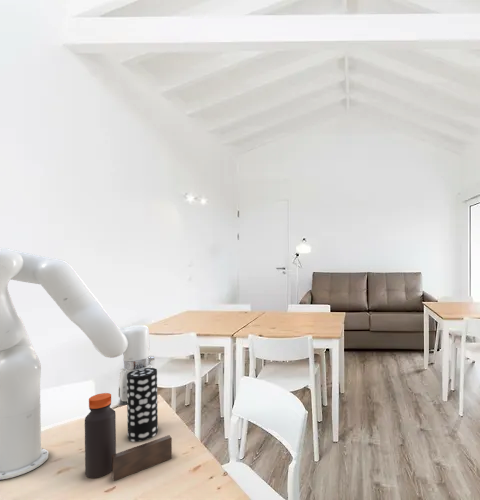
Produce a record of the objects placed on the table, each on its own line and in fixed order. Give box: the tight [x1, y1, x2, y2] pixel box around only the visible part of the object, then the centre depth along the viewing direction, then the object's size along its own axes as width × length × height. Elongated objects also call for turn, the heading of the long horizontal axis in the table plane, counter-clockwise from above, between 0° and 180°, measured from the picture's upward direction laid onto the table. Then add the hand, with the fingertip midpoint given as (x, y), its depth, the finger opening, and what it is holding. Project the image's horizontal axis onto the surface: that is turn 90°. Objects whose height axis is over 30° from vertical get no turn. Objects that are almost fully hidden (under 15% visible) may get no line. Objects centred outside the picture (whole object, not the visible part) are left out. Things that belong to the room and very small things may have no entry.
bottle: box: [84, 392, 117, 479], centre depth 95 cm, size 7×7×20 cm
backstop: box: [111, 434, 173, 482], centre depth 96 cm, size 14×2×6 cm, turn 134°
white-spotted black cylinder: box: [126, 367, 159, 443], centre depth 113 cm, size 8×8×20 cm
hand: (137, 417), depth 118 cm, fingers closed
